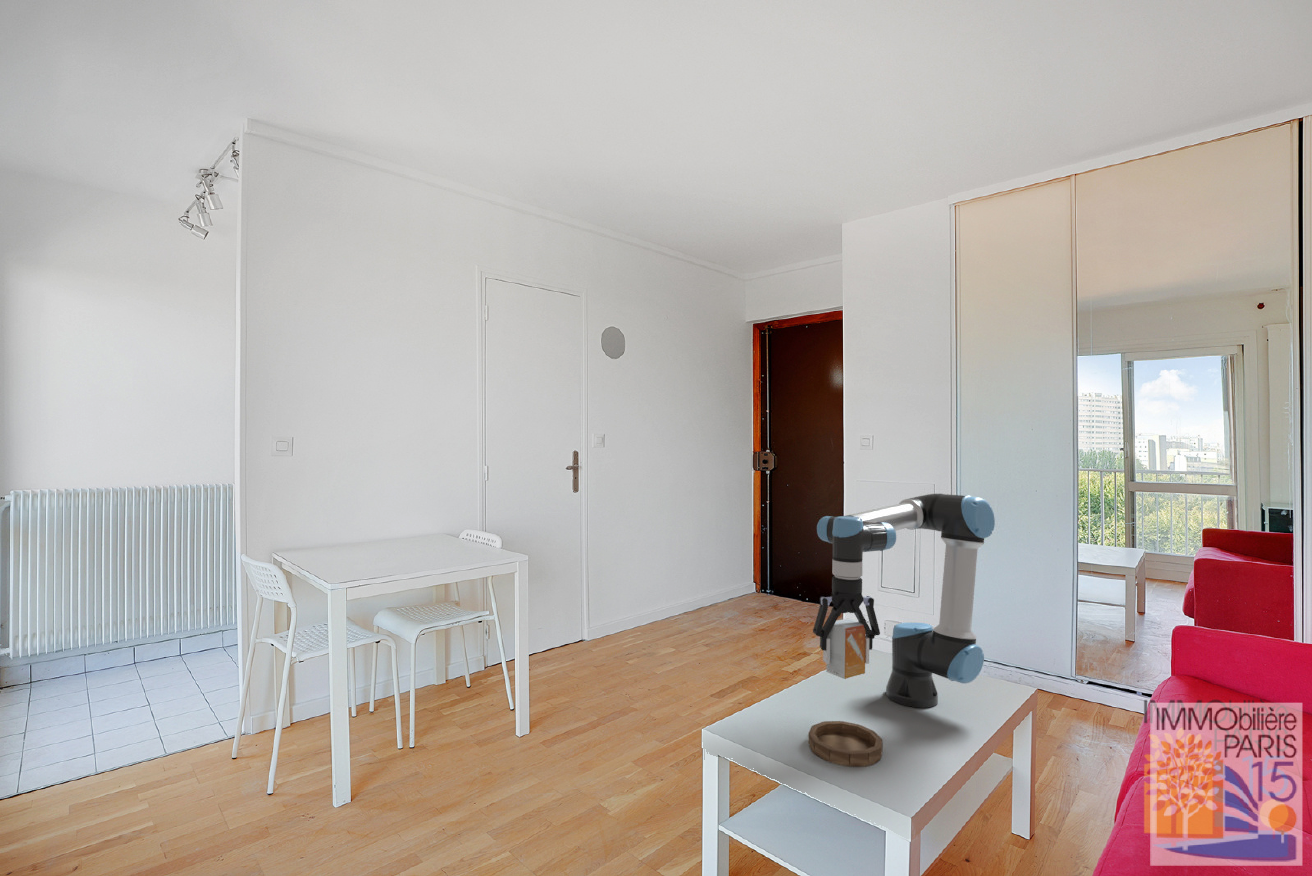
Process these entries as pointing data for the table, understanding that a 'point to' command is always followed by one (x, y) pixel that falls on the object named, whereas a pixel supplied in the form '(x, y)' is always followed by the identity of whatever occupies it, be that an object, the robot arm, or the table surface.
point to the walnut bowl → (845, 743)
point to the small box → (847, 649)
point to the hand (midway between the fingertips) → (846, 662)
